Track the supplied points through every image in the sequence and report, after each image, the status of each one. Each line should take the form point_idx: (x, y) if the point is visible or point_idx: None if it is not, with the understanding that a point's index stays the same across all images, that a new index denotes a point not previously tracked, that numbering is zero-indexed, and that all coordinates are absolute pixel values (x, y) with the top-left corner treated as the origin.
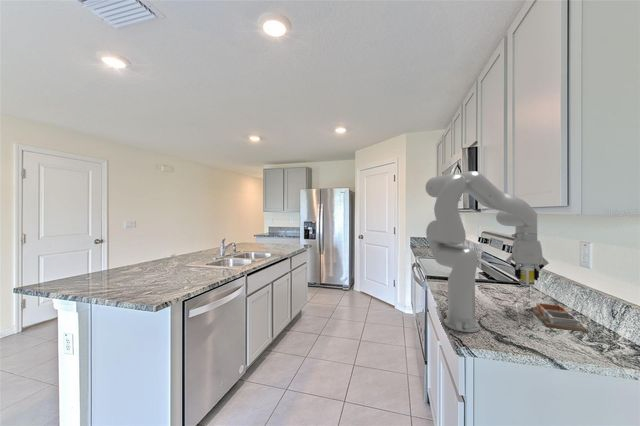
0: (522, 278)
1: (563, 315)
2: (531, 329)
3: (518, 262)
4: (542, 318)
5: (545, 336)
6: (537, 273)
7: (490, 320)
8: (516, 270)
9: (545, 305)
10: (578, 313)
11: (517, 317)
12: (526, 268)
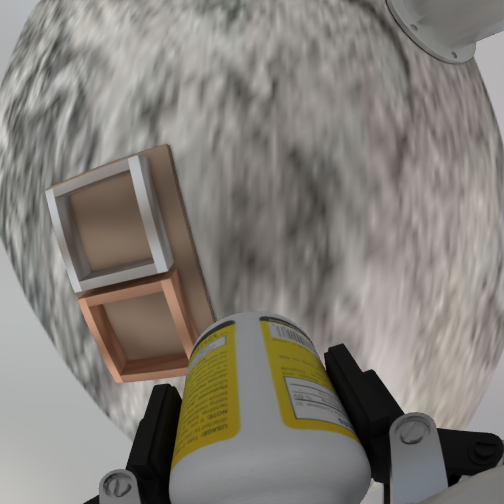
0: (303, 352)
1: (98, 274)
2: (227, 74)
3: (479, 491)
4: (177, 215)
5: (183, 35)
6: (137, 439)
7: (378, 98)
8: (396, 418)
9: (167, 367)
10: (89, 391)
11: (281, 203)
12: (281, 464)
